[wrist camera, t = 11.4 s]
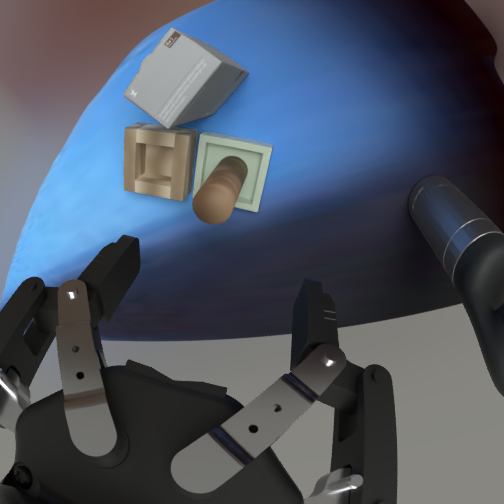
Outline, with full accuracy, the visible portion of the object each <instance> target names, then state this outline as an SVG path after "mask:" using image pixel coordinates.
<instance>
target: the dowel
mask: <svg viewBox="0 0 504 504" xmlns="http://www.w3.org/2000/svg"><path fill="white" fill-rule="evenodd" d="M247 174H248V168H247V165H246V163H245V162H244V161H243V160H242V159H241V158H239V157H237V156H227V157H225V158H223V159H222V160H221V161H220V162H219V163H218V165H217V166H216V167H215V169H214V170H213V171H212V173H211V174H210V175H209V177H208V178H207V180H206V181H205V182H204V184H203V185H202V186H201V188H200V189H199V190H198V192H197V193H196V195H195V196H194V198H193V202H192V205H193V210H194V212H195V214H196V215H197V217H198V218H199V219H200V220H202V221H204V222H206V223H208V224H221V223H223V222H225V221H226V220H227V219H228V218H229V217H230V215H231V213H232V211H233V208H234V206H235V203H236V201H237V198H238V196H239V194H240V191H241V189H242V186H243V184H244V181H245V179H246V177H247Z"/></svg>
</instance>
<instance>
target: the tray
mask: <svg viewBox="0 0 504 504" xmlns="http://www.w3.org/2000/svg"><path fill="white" fill-rule="evenodd" d="M272 148H273V144H269V143H265V142H260V141H255V140H251V139H246V138H241V137H236V136H230V135H225V134H219V133H213V132H207V131H204V132H203V133H201V134H200V139H199V146H198V154H197V162H196V171H195V180H194V189H193V198H194V196H195V195H196V193H197V192H198V190H199V189H200V188H201V186H202V185H203V184H204V182H205V181H206V180H207V178H208V177H209V175H210V174H211V173H212V171H213V170H214V169H215V167H216V166H217V165H218V163H219V162H220V161H221V160H222V159H223V158H225V157H227V156H237V157H239V158H241V159H242V160H243V161H244V162H245V163H246V165H247V168H248V174H247V177H246V179H245V181H244V184H243V186H242V189H241V191H240V194H239V196H238V198H237V201H236V203H235V206H234V207H236V208H241V209H245V210H250V211H254V212H258V208H259V204H260V200H261V196H262V191H263V187H264V182H265V178H266V174H267V169H268V165H269V161H270V156H271V152H272Z"/></svg>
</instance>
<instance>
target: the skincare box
mask: <svg viewBox="0 0 504 504" xmlns="http://www.w3.org/2000/svg"><path fill="white" fill-rule="evenodd" d="M248 74H249V72H248V71H247V70H245V69H244V68H243V67H242V66H240V65H239V64H238V63H236V62H235V61H233V60H232V59H231V58H229V57H228V56H226V55H225V54H223V53H222V52H220V51H219V50H217V49H216V48H214V47H212V46H210V45H208V44H206V43H204V42H202V41H199V40H197V39H195V38H193V37H191V36H189V35H186V34H184V33H182V32H180V31H178V30H176V29H174V28H170V30H169V31H168V32H167V33H166V35H165V36H164V37H163V38H162V40H161V41H160V42H159V44H158V45H157V46H156V48H155V49H154V50H153V52H152V53H151V54H149V55H148V56H147V57H146V58H145V59H144V60H143V61H142V64H141V66H140V70H139V71H138V72H137V74H136V75H135V77H134V78H133V80H132V81H131V83H130V85H129V86H128V88H127V89H126V91H125V93H124V97H125V98H127V99H128V100H129V101H131V102H132V103H133V104H135V105H136V106H138V107H139V108H140V109H142V110H143V111H145V112H146V113H147V114H149V115H150V116H151V117H153V118H154V119H155V120H157V121H158V122H160V123H161V124H162V125H163V126H165V127H166V128H167V129H169V128H172V127H175V126H178V125H181V124H184V123H187V122H190V121H194V120H197V119H201V118H204V117H208V116H211V115H214V114H215V113H216V111H217V110H218V109H219V108H220V107H221V106H222V105H223V104H224V102H225V101H226V100H227V99H228V98H229V97H230V96H231V95H232V93H233V92H234V91H235V90H236V89H237V88H238V86H239V85H240V84H241V83H242V82H243V80H244V79H245V78H246V77H247V75H248Z"/></svg>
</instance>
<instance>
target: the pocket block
mask: <svg viewBox="0 0 504 504" xmlns="http://www.w3.org/2000/svg"><path fill="white" fill-rule="evenodd" d="M197 135H198V130H194V129H188V128H180V127H172V128H169V129H167V128H166V127H165V126H163V125H156V124H146V123H136V124H134V125H131V126H129V127H126V128H125V139H124V190H126V191H132V192H137V193H142V194H147V195H153V196H158V197H163V198H168V199H173V200H177V201H182V202H183V200H184V199H185V198H186V197H187V195H188V194H189V193H190V192H191V186H192V177H193V168H194V159H195V151H196V143H197Z"/></svg>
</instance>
